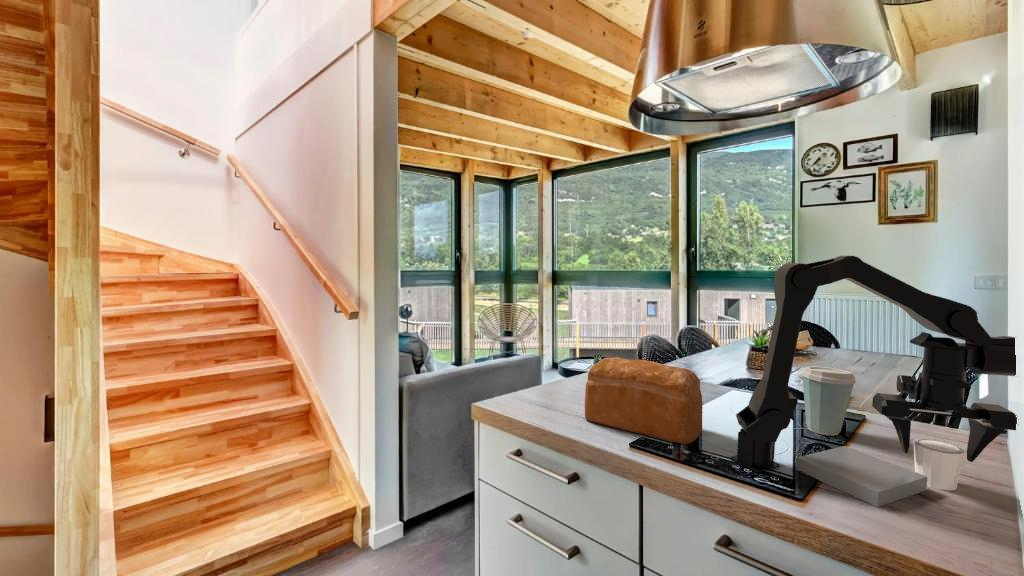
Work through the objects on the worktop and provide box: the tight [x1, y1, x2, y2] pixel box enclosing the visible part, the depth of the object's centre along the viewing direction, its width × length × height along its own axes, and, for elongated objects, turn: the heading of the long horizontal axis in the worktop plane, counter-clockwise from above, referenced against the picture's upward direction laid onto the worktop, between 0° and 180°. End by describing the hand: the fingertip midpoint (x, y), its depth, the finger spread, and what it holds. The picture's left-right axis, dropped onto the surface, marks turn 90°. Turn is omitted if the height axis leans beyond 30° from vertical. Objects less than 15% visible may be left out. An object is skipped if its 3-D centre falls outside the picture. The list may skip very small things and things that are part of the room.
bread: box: [584, 357, 703, 445], centre depth 112 cm, size 14×26×16 cm, turn 53°
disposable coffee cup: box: [801, 365, 857, 437], centre depth 109 cm, size 11×11×15 cm
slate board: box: [796, 445, 928, 508], centre depth 85 cm, size 14×14×2 cm
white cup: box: [913, 438, 965, 491], centre depth 84 cm, size 7×7×7 cm
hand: (936, 456), depth 84 cm, fingers open, 9 cm apart
